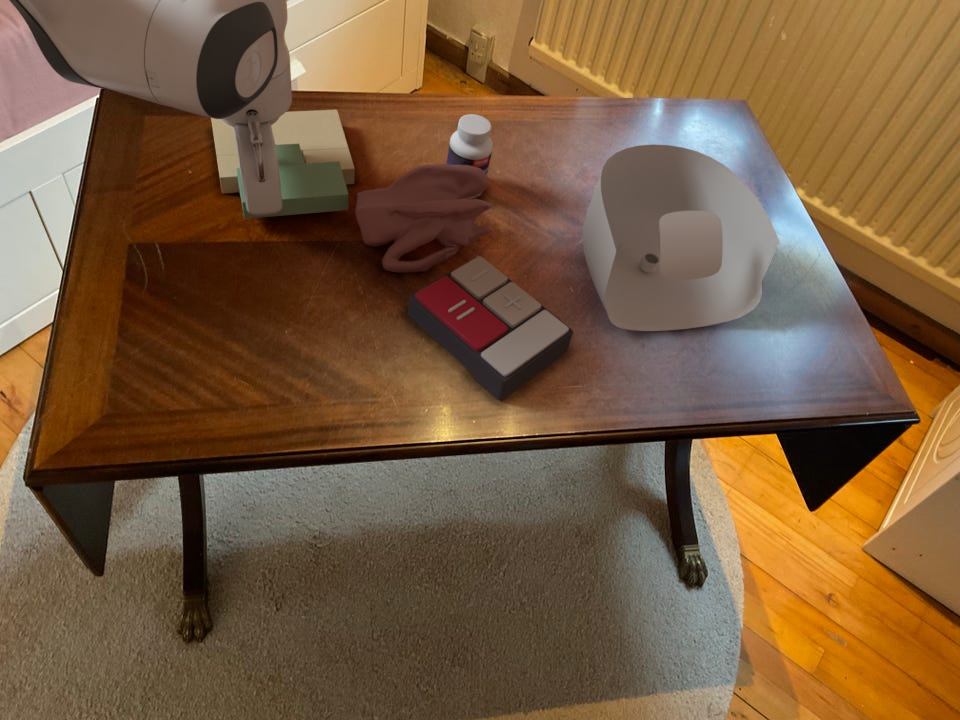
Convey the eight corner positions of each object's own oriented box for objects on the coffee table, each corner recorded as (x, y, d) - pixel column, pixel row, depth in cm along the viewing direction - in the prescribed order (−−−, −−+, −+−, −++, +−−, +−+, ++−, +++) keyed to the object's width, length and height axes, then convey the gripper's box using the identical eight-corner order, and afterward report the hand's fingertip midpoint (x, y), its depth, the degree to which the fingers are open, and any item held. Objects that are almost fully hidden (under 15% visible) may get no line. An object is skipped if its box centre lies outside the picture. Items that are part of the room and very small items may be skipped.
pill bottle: (471, 206, 95) (483, 143, 87) (435, 188, 96) (444, 124, 88) (491, 184, 98) (504, 122, 90) (456, 167, 99) (467, 104, 91)
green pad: (244, 219, 85) (242, 202, 83) (235, 163, 90) (232, 146, 88) (348, 210, 89) (348, 194, 87) (333, 157, 94) (333, 141, 92)
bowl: (689, 215, 101) (726, 143, 91) (749, 324, 90) (797, 256, 81) (551, 220, 95) (575, 145, 86) (597, 337, 85) (629, 266, 75)
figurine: (388, 297, 89) (508, 267, 85) (349, 239, 81) (478, 203, 77) (394, 227, 96) (504, 196, 92) (358, 168, 88) (476, 131, 84)
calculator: (480, 249, 85) (577, 326, 79) (475, 275, 88) (568, 351, 83) (407, 291, 80) (506, 378, 74) (405, 318, 83) (500, 403, 77)
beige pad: (222, 193, 89) (219, 177, 87) (213, 131, 96) (210, 114, 94) (354, 184, 94) (354, 168, 92) (337, 125, 100) (337, 109, 98)
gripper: (293, 147, 70) (299, 250, 81) (266, 28, 81) (274, 133, 92) (224, 151, 69) (239, 256, 80) (205, 29, 80) (221, 135, 91)
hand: (258, 189), depth 86 cm, fingers closed on green pad, 6 cm apart
